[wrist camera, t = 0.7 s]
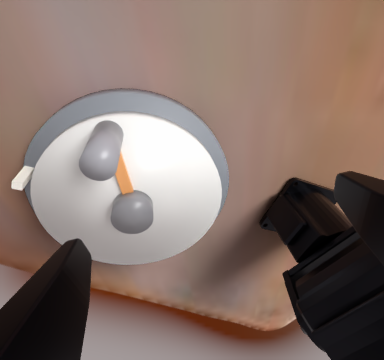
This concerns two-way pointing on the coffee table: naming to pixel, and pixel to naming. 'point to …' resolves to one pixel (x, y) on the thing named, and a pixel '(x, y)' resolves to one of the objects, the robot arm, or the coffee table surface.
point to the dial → (127, 187)
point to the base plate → (112, 103)
